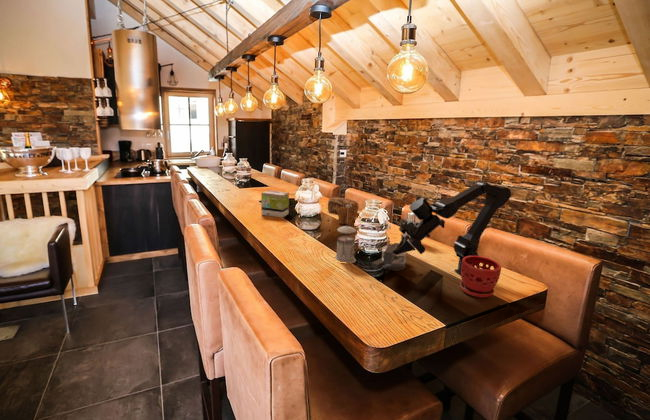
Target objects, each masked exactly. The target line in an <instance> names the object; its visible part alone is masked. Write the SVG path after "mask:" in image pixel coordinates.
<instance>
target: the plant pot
mask: <svg viewBox="0 0 650 420" xmlns="http://www.w3.org/2000/svg"><path fill="white" fill-rule="evenodd" d="M471 262H472V264H470V263H471ZM480 264H482V265H480ZM473 266H475V267H473ZM491 267H492V268H493V269H491ZM501 271H502V265H501V264H500V263H499V262H498V261H497V260H494V259H492V258H489V257H485V256H481V255H479V256H466V257H464V258H463V259H462V264H461V275H460V277H461V282H459V287H460V289H461V290H462V291H463V292H464V293H466V294H468V295H470V296H472V297H475V298H476V297H477V298H489V297H491V296H493V295H494V294H495V289H494V288H495V287H496V286H497V283H498V282H499V280H500V275H501V273H502V272H501Z"/></svg>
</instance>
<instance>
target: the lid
mask: <svg viewBox="0 0 650 420" xmlns="http://www.w3.org/2000/svg"><path fill="white" fill-rule="evenodd" d="M399 243H400V242H399ZM399 243H398V242H394V243H389V244H388V245H385V246H383V247H382V248H381V253H382V252H383V253H384V262H383V263H384V264H390V265H391V264H392V262H393V260H394V258H395V256H405V255H406V256H407V253H408V252H404V253H401V254H397V255H396V254H395V253H394V251H395V249H396V248H397V246H398V245H399Z"/></svg>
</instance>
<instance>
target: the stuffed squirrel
mask: <svg viewBox="0 0 650 420" xmlns="http://www.w3.org/2000/svg"><path fill="white" fill-rule="evenodd" d="M349 205H350V208H348V220H347V209H346V208H345V207H340V208H339V209H338V212H337V213H336V214H338V216H337V217H338V219H337V220H338V223H340V224H341V225H346V226H350V227H355V226H354V223H355V220H357V218H359V217H358V216H359V214H360V213H359V207H360V206H359V204H358V205H357V204H356V203H353V202H352V203H351V202H350V204H349ZM356 210H358V212H357V213H356V212H355V211H356Z"/></svg>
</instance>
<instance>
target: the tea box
mask: <svg viewBox="0 0 650 420" xmlns="http://www.w3.org/2000/svg"><path fill="white" fill-rule="evenodd" d="M260 196H261V198H260V199H261V206H260V207H261V210H260V211H261V215H262V216H267V217H268V216H269V217H274V218H275V217H277V218H281V217H283V218H285V217H286V216H287V215H289V207H290V205H289V204H290V200H289V198H290V193H289V192H286V191H277V190H269V189H268V190H266V191H263V192H261V195H260Z"/></svg>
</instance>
